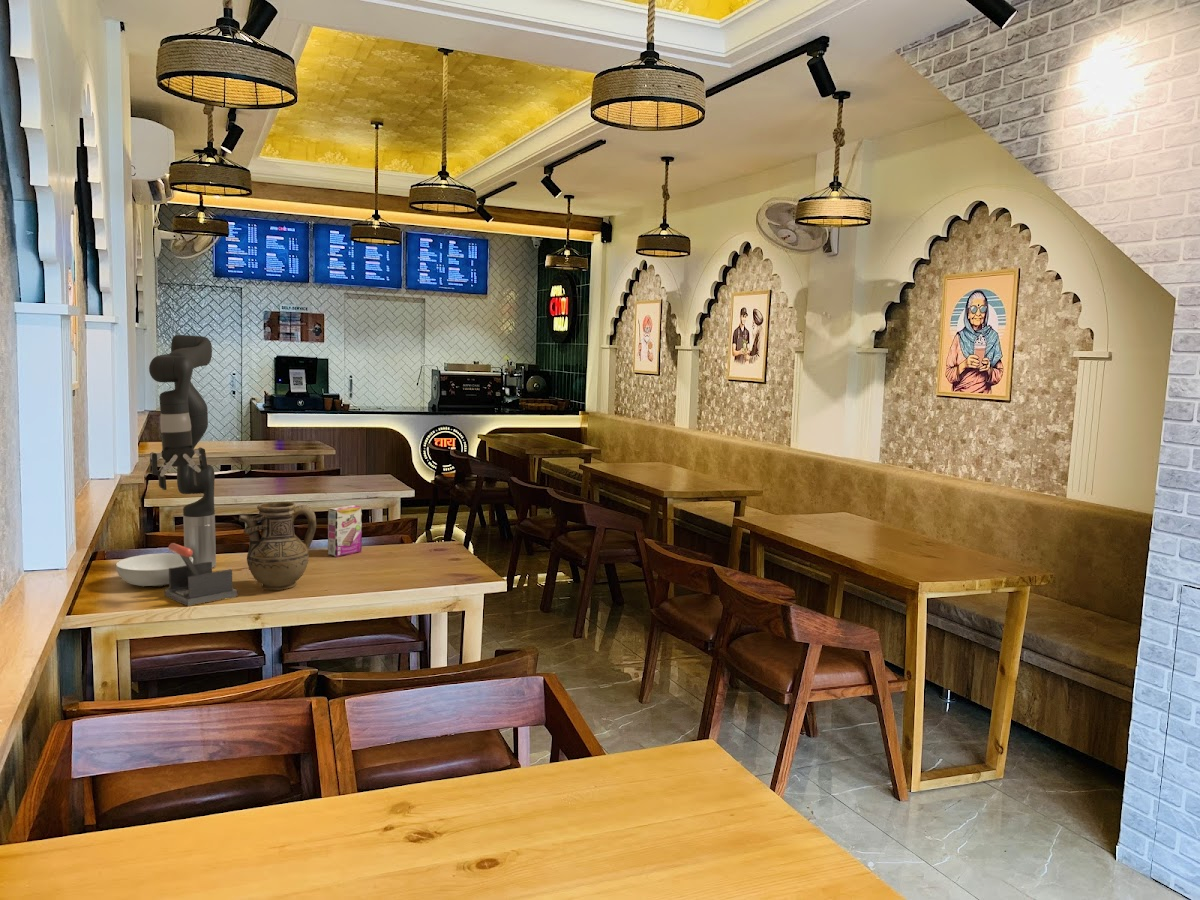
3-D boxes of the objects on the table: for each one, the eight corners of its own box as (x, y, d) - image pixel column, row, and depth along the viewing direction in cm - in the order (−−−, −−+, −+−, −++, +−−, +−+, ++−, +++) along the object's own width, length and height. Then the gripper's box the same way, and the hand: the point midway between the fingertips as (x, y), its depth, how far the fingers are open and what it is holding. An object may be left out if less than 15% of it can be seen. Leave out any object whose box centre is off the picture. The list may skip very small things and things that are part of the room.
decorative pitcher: (315, 577, 282) (313, 498, 279) (319, 591, 265) (318, 507, 263) (240, 582, 274) (238, 500, 271) (240, 597, 258) (238, 511, 255)
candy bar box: (336, 557, 308) (336, 510, 306) (327, 555, 311) (326, 508, 309) (362, 552, 317) (362, 506, 315) (353, 550, 320) (353, 504, 318)
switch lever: (206, 589, 254) (182, 552, 248) (190, 583, 260) (166, 546, 254) (213, 584, 255) (189, 546, 249) (197, 577, 262) (174, 541, 256)
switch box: (188, 606, 248) (187, 578, 247) (164, 595, 258) (163, 568, 257) (237, 596, 258) (236, 569, 257) (213, 587, 268) (212, 560, 267)
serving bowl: (113, 595, 257) (112, 571, 257) (119, 577, 277) (118, 555, 276) (193, 588, 266) (192, 566, 265) (194, 572, 285) (193, 550, 284)
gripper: (198, 425, 255) (203, 482, 257) (144, 430, 245) (149, 488, 248) (207, 428, 249) (211, 486, 251) (151, 433, 240) (156, 493, 242)
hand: (180, 487), depth 250 cm, fingers open, 8 cm apart
